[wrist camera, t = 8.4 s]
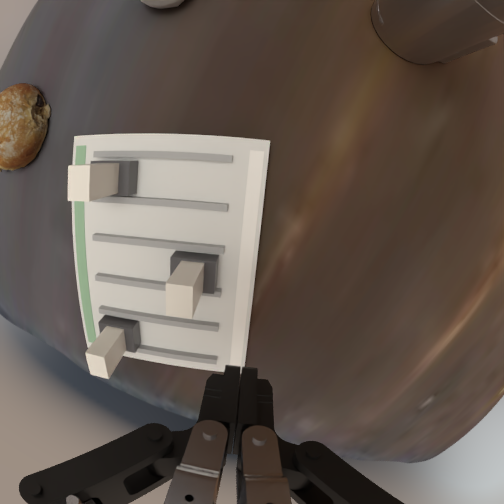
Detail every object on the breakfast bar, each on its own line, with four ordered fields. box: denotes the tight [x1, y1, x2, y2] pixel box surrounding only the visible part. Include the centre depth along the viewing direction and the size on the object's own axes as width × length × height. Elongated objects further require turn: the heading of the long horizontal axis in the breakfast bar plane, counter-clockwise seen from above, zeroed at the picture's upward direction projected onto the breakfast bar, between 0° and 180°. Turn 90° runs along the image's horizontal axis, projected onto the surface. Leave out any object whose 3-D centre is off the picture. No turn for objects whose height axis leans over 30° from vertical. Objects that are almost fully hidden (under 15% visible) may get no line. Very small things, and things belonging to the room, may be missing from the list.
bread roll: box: [0, 83, 51, 172], centre depth 23 cm, size 10×10×8 cm
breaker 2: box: [85, 315, 141, 379], centre depth 26 cm, size 4×3×7 cm
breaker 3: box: [166, 250, 219, 319], centre depth 24 cm, size 4×3×7 cm
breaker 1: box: [68, 160, 138, 202], centre depth 22 cm, size 4×3×7 cm
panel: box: [72, 134, 270, 374], centre depth 28 cm, size 19×24×2 cm
